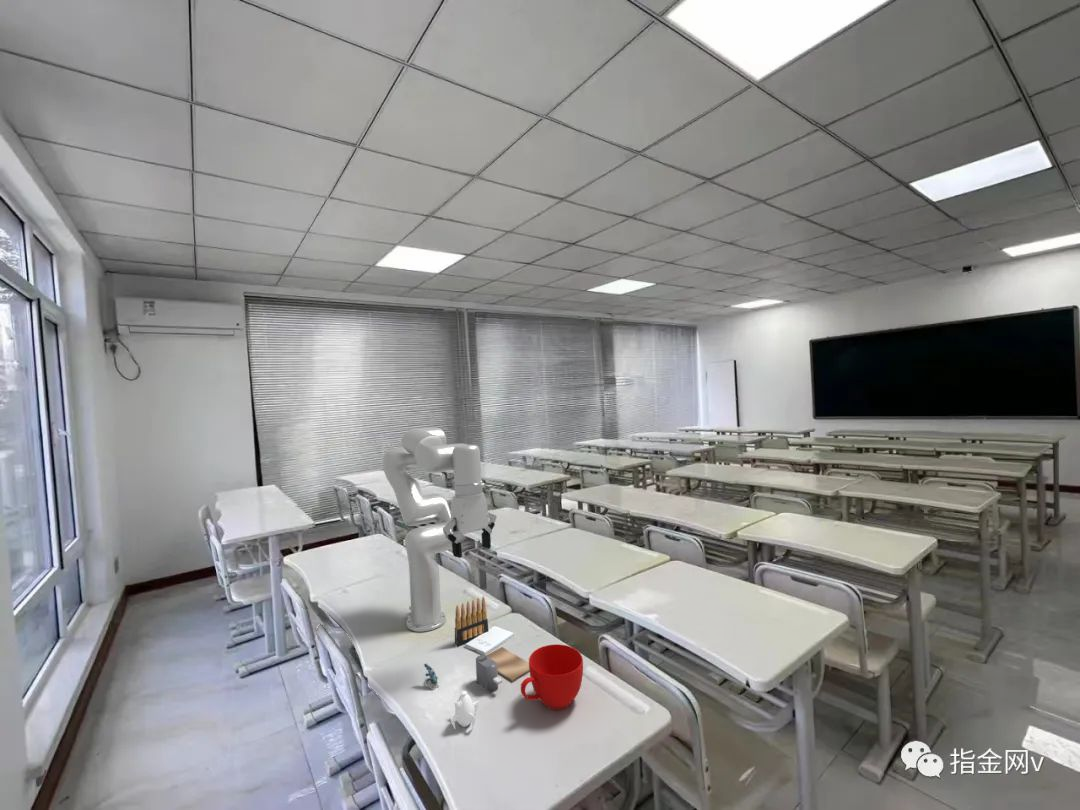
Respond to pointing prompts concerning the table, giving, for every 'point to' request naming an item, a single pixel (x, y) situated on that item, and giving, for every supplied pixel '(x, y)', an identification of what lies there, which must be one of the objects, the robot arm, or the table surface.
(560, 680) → the ceramic cup
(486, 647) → the external hard drive
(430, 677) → the sculpture
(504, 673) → the wood pad
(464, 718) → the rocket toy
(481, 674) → the connector
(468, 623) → the ammunition clip
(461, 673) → the table surface
